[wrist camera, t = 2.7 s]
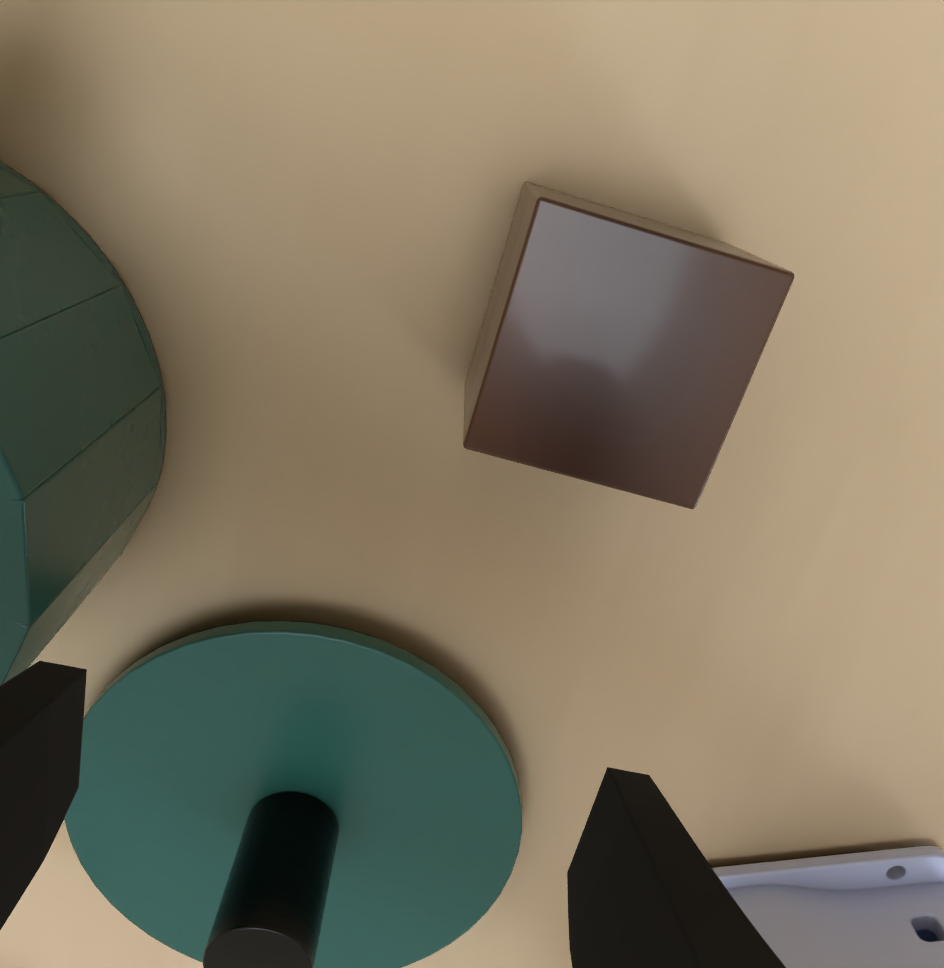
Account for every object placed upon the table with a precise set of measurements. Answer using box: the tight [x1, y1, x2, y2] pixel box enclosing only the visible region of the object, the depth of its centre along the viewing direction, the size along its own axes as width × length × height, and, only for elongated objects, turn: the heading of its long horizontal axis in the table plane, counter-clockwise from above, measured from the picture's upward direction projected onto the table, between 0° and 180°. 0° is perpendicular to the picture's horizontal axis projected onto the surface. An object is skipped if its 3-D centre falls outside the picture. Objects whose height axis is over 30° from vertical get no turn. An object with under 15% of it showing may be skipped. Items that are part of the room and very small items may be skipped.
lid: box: [64, 621, 522, 968], centre depth 21 cm, size 12×12×5 cm
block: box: [463, 182, 794, 509], centre depth 16 cm, size 4×4×4 cm
